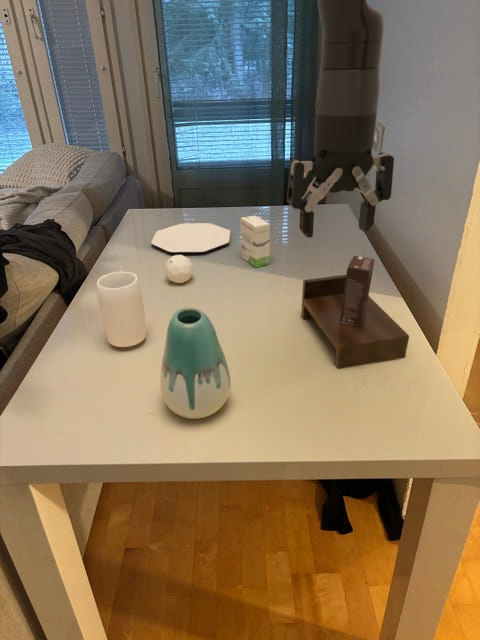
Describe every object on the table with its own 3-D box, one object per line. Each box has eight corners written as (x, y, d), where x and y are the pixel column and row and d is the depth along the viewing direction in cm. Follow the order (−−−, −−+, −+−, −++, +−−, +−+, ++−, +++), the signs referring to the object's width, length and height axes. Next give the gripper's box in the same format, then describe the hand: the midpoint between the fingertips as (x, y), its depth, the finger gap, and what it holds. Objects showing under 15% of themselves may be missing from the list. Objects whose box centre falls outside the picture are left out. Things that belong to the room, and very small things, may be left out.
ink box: (270, 264, 128) (271, 223, 122) (254, 268, 126) (254, 226, 120) (255, 253, 134) (255, 214, 128) (240, 257, 133) (239, 217, 126)
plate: (228, 255, 134) (228, 250, 133) (146, 256, 134) (145, 251, 134) (231, 227, 154) (231, 222, 153) (160, 228, 155) (159, 223, 154)
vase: (235, 424, 75) (232, 330, 66) (163, 432, 74) (149, 338, 65) (227, 379, 85) (223, 293, 76) (163, 386, 84) (151, 299, 75)
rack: (359, 307, 106) (363, 272, 102) (405, 357, 90) (413, 317, 85) (301, 316, 104) (303, 280, 99) (337, 369, 87) (341, 328, 83)
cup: (145, 352, 93) (135, 289, 86) (103, 353, 93) (89, 290, 86) (150, 329, 101) (142, 269, 93) (111, 331, 100) (99, 271, 93)
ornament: (198, 283, 118) (182, 267, 112) (173, 291, 121) (156, 275, 115) (198, 261, 122) (183, 244, 115) (174, 269, 124) (157, 252, 118)
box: (362, 327, 90) (369, 270, 84) (339, 322, 92) (345, 266, 86) (367, 312, 95) (375, 257, 89) (345, 308, 96) (351, 254, 90)
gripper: (301, 116, 54) (296, 247, 62) (414, 109, 56) (395, 236, 65) (282, 109, 60) (280, 229, 69) (384, 103, 63) (370, 219, 71)
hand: (336, 232), depth 67 cm, fingers open, 8 cm apart
